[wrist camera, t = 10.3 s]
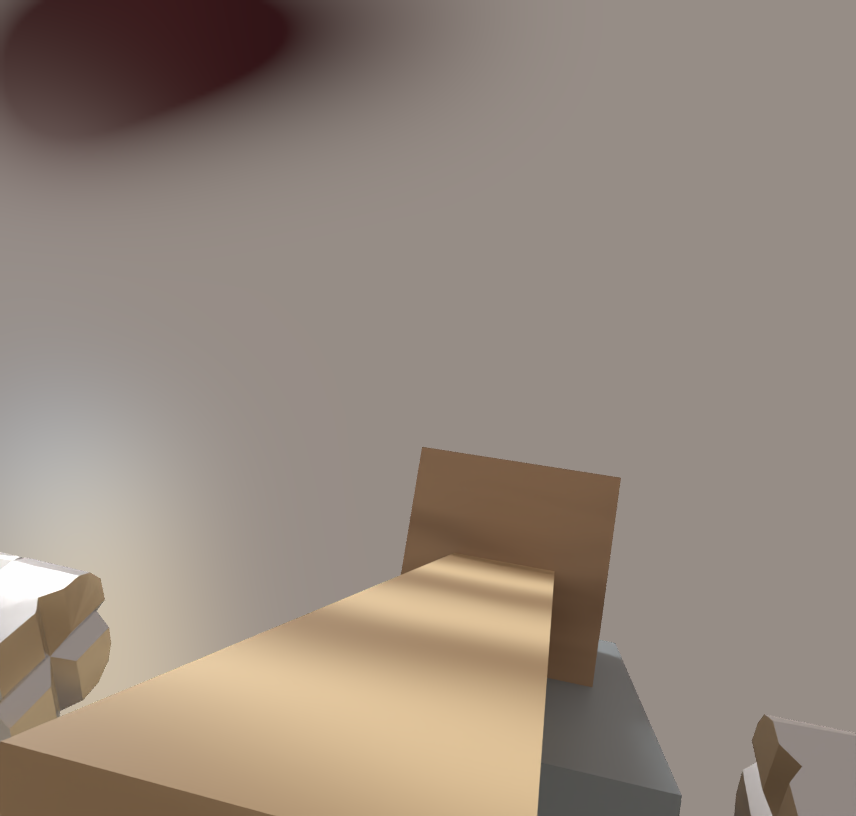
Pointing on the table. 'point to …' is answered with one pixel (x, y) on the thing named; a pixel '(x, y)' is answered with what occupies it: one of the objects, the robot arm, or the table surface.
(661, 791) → the grey slab on plinth
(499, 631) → the rail
